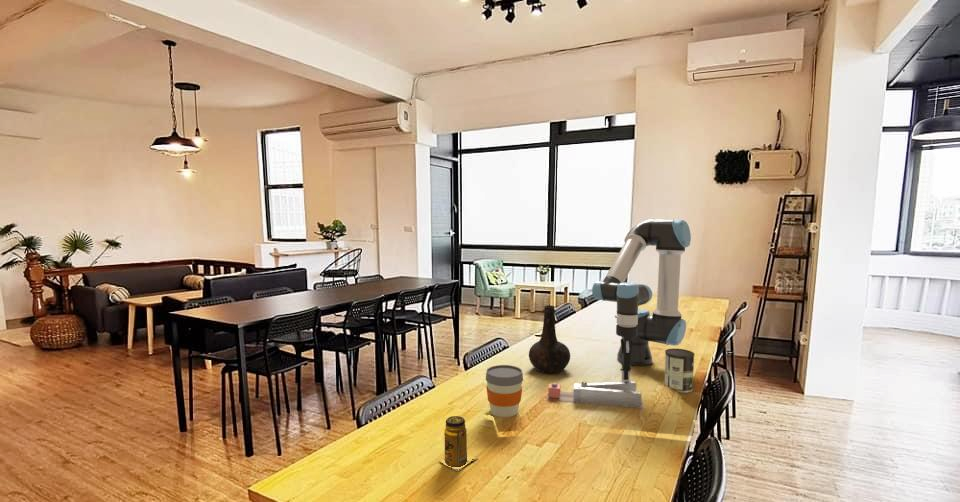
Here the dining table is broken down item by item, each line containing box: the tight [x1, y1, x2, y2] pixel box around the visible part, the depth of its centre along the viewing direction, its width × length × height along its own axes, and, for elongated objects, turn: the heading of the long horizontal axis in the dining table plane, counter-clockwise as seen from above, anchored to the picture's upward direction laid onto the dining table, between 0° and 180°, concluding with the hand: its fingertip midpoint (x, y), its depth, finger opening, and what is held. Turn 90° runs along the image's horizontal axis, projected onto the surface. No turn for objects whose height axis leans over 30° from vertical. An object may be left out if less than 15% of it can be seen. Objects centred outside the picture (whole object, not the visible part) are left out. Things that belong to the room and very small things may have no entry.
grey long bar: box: [573, 382, 643, 409], centre depth 158 cm, size 5×23×5 cm, turn 76°
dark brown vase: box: [528, 304, 571, 374], centre depth 193 cm, size 18×18×28 cm
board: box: [546, 390, 645, 410], centre depth 160 cm, size 9×33×1 cm, turn 76°
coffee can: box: [664, 347, 695, 394], centre depth 173 cm, size 10×10×14 cm
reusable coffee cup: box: [485, 364, 524, 418], centre depth 151 cm, size 13×12×15 cm
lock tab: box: [547, 382, 561, 398], centre depth 163 cm, size 4×4×4 cm
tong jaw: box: [581, 380, 637, 391], centre depth 161 cm, size 2×20×6 cm, turn 96°
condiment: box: [443, 415, 479, 472], centre depth 123 cm, size 7×8×12 cm
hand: (625, 386), depth 168 cm, fingers closed
